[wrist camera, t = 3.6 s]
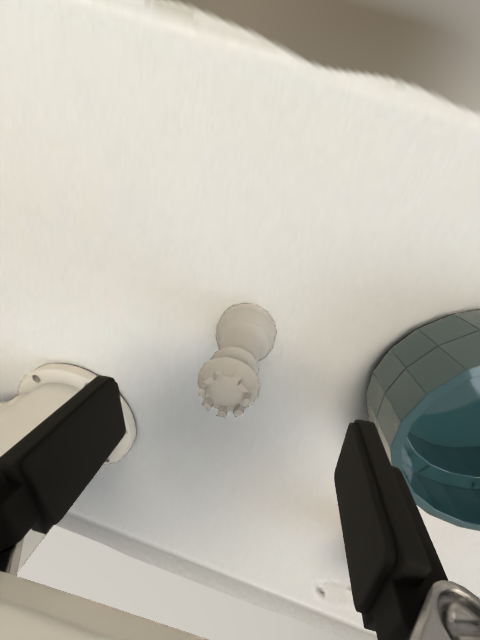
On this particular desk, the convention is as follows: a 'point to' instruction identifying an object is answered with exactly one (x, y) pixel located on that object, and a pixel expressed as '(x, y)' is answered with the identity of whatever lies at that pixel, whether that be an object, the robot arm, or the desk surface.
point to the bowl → (434, 415)
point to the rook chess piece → (237, 359)
